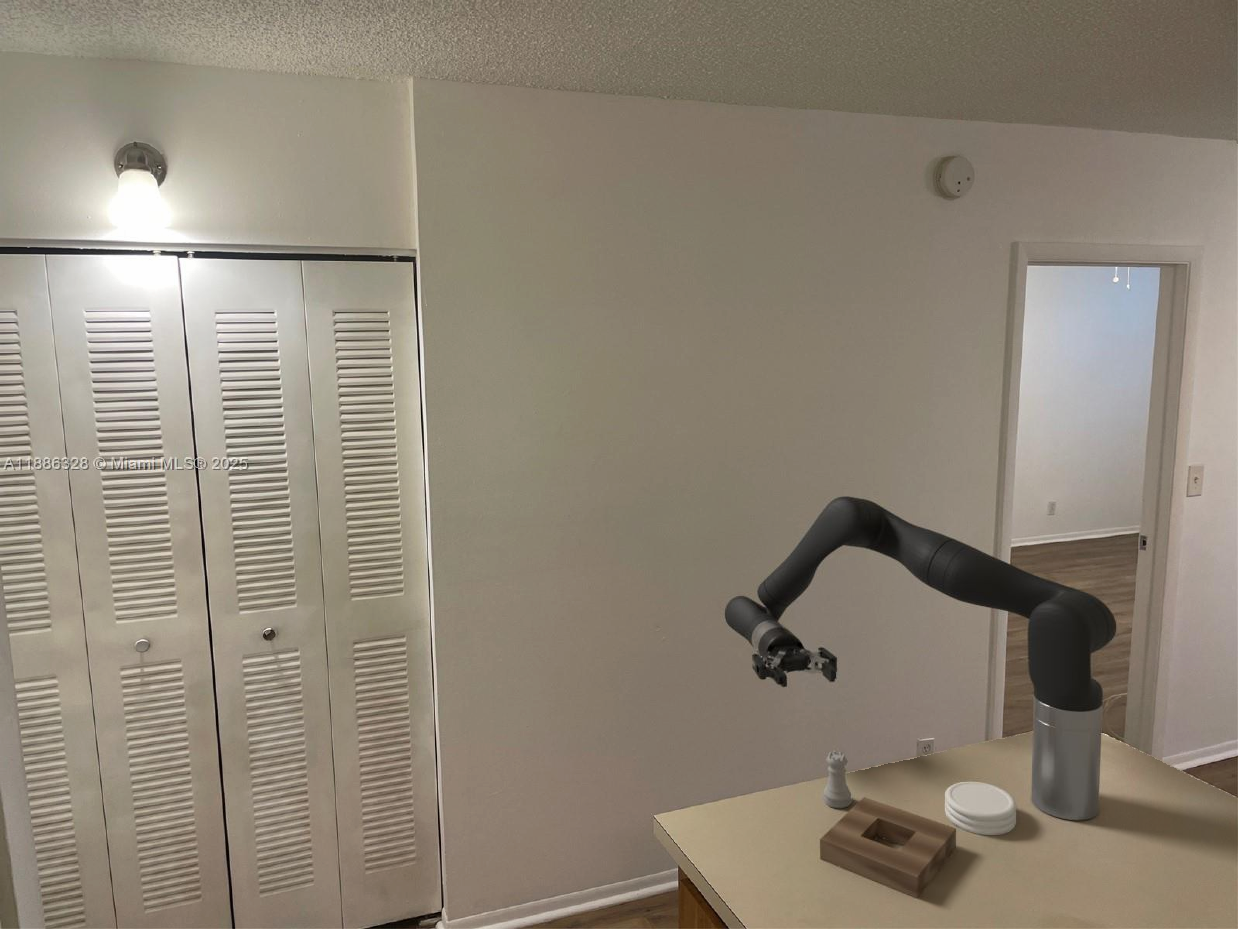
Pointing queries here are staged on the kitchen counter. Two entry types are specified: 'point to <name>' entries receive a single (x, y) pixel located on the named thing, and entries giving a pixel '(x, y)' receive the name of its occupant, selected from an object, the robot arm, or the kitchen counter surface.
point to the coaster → (980, 808)
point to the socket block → (883, 864)
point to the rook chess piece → (837, 782)
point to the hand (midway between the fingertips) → (809, 679)
